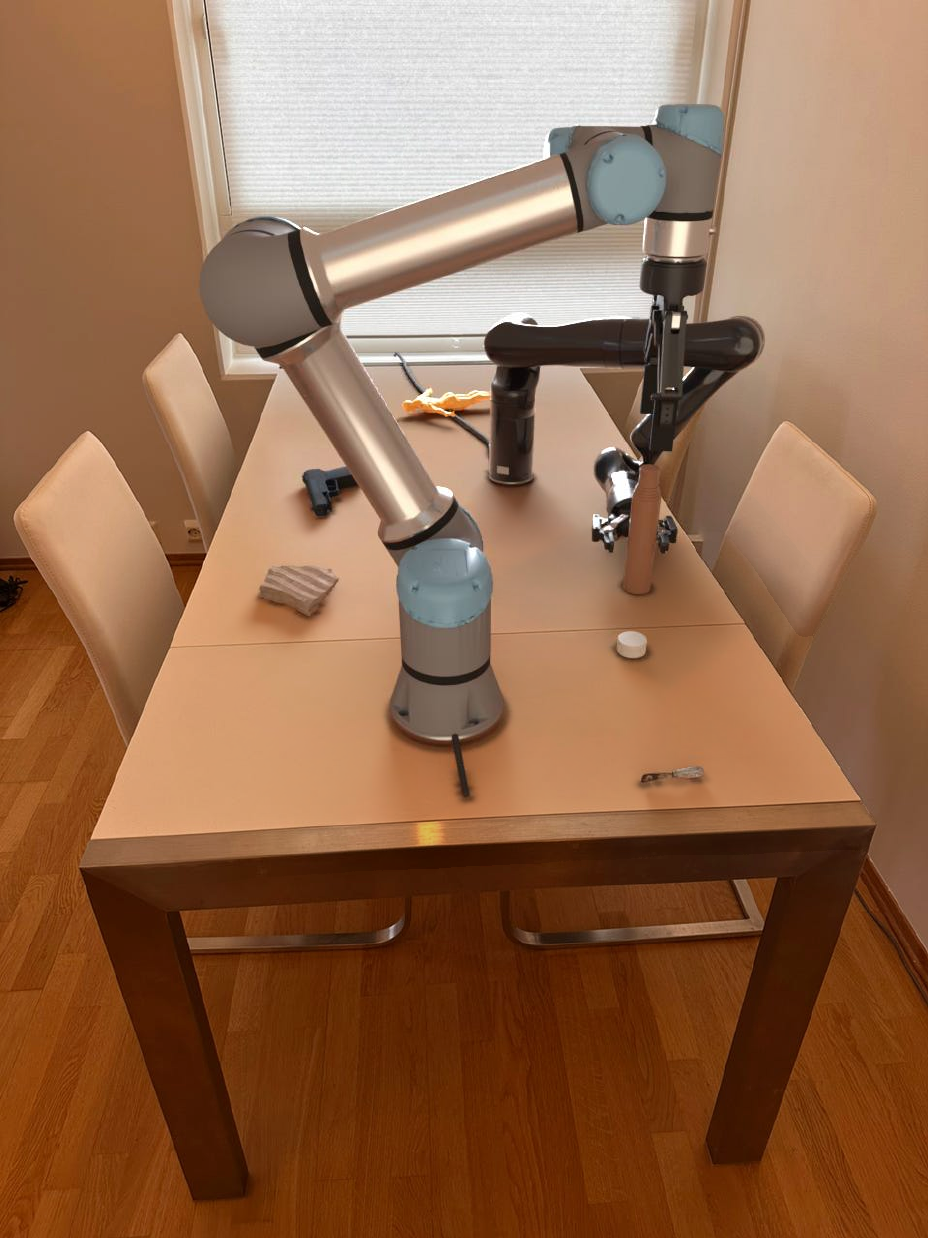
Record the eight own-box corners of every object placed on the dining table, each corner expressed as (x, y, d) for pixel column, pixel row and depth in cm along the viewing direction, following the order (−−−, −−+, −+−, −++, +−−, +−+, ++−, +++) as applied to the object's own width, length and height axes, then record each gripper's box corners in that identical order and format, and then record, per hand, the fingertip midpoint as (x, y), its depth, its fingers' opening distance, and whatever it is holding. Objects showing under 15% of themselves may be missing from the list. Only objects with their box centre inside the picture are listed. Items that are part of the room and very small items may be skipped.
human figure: (395, 413, 223) (394, 398, 221) (438, 390, 237) (438, 375, 235) (462, 429, 215) (462, 413, 213) (502, 404, 229) (503, 388, 227)
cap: (615, 656, 132) (616, 644, 131) (617, 640, 136) (619, 629, 135) (644, 660, 131) (646, 648, 130) (646, 644, 135) (648, 632, 134)
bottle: (633, 577, 152) (646, 460, 141) (655, 587, 150) (670, 467, 138) (617, 587, 150) (629, 468, 138) (639, 597, 147) (653, 476, 135)
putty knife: (703, 777, 109) (705, 767, 109) (642, 788, 108) (644, 777, 107) (700, 772, 110) (702, 762, 109) (639, 782, 109) (640, 771, 108)
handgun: (372, 511, 175) (311, 519, 173) (357, 476, 189) (301, 482, 187) (371, 496, 173) (310, 504, 171) (356, 462, 188) (299, 468, 185)
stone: (348, 583, 151) (347, 570, 149) (311, 618, 141) (310, 604, 140) (283, 570, 155) (281, 557, 154) (243, 602, 146) (241, 589, 144)
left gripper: (725, 278, 93) (698, 468, 105) (692, 238, 114) (673, 400, 126) (652, 277, 94) (633, 467, 105) (633, 238, 115) (619, 399, 126)
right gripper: (589, 487, 159) (595, 527, 145) (670, 488, 158) (684, 528, 145) (587, 525, 163) (592, 567, 149) (665, 526, 162) (678, 569, 149)
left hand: (655, 431), depth 115 cm, fingers open, 13 cm apart
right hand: (637, 548), depth 147 cm, fingers open, 8 cm apart
